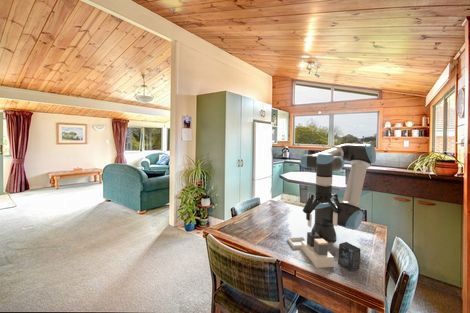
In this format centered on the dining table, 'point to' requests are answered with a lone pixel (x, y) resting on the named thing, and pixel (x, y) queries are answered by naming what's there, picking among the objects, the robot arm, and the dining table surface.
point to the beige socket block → (317, 256)
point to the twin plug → (312, 237)
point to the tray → (295, 242)
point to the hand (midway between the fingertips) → (322, 225)
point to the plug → (321, 246)
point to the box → (349, 256)
